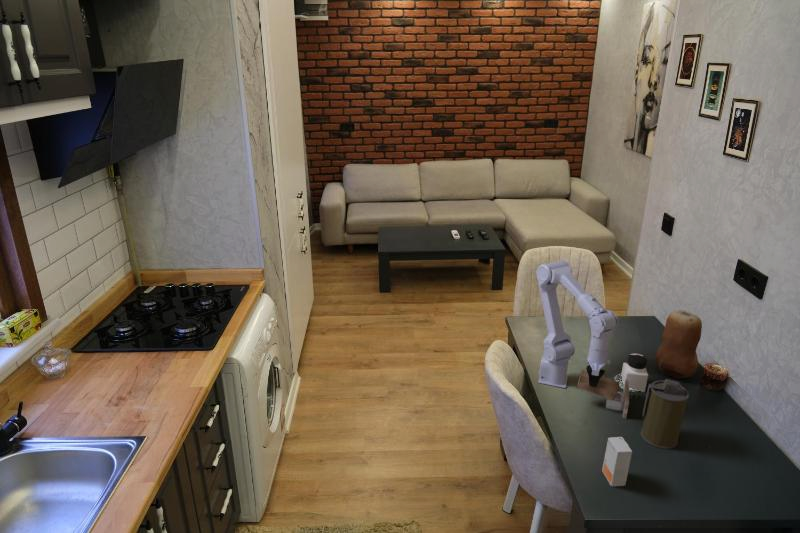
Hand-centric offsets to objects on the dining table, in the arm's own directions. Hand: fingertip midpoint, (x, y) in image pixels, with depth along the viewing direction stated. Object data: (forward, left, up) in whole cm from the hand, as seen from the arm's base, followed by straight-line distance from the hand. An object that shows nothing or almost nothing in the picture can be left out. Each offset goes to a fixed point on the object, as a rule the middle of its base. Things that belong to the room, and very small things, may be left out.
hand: (593, 382), depth 177 cm
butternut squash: (+28, +31, -9) cm, 42 cm away
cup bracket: (+8, +4, -9) cm, 12 cm away
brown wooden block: (+1, 0, -3) cm, 3 cm away
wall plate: (+11, +4, -9) cm, 15 cm away
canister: (+21, -9, -9) cm, 24 cm away
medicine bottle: (+14, +18, -9) cm, 24 cm away
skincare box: (+8, -33, -9) cm, 35 cm away
